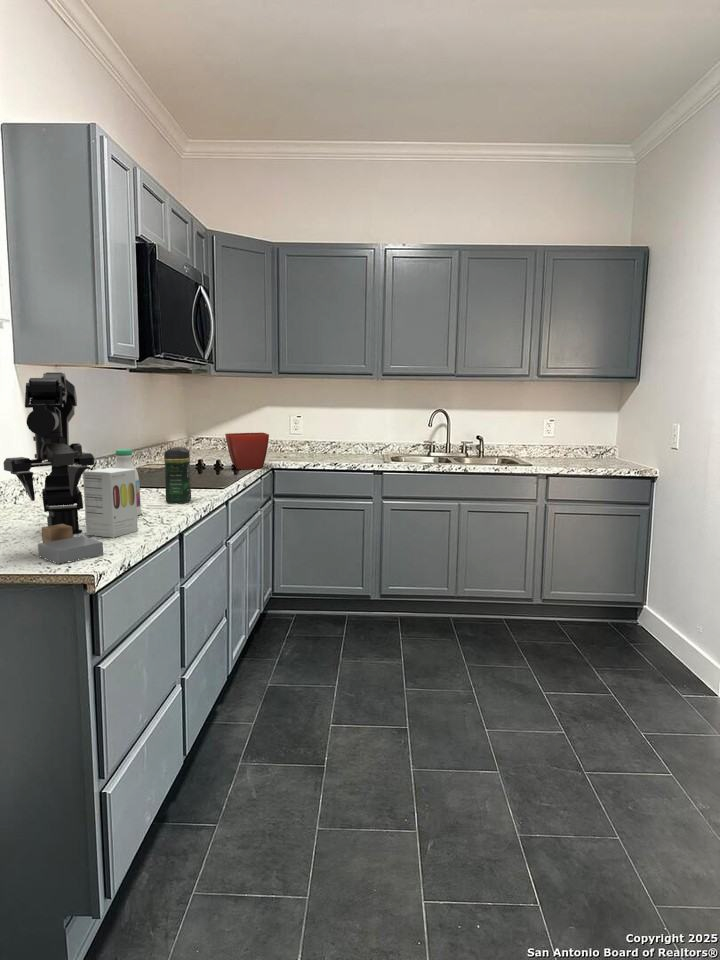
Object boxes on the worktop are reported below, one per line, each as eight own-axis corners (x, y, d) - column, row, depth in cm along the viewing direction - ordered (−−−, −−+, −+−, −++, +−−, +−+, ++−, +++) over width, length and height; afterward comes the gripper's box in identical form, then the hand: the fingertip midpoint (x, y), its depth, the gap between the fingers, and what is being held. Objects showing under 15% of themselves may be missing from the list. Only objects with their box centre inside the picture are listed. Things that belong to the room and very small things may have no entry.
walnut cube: (63, 543, 154) (62, 523, 153) (73, 546, 150) (72, 526, 150) (43, 547, 150) (41, 527, 149) (52, 550, 147) (50, 530, 146)
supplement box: (113, 538, 159) (109, 472, 156) (85, 535, 162) (80, 471, 160) (139, 530, 167) (135, 468, 165) (112, 528, 171) (108, 466, 169)
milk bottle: (110, 515, 189) (106, 449, 186) (135, 512, 194) (132, 447, 191) (119, 519, 183) (115, 451, 180) (145, 515, 188) (141, 449, 185)
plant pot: (226, 466, 314) (225, 433, 311) (264, 465, 319) (263, 432, 317) (230, 471, 296) (228, 435, 293) (270, 469, 301) (269, 434, 299)
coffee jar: (187, 504, 208) (185, 448, 205) (163, 504, 207) (160, 448, 205) (194, 499, 217) (191, 445, 215) (171, 499, 217) (168, 446, 214)
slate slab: (82, 548, 149) (81, 535, 148) (103, 555, 142) (102, 542, 142) (38, 556, 141) (37, 543, 141) (59, 564, 135) (58, 550, 134)
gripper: (19, 436, 134) (25, 507, 136) (103, 431, 147) (107, 496, 150) (0, 433, 141) (5, 501, 143) (82, 429, 155) (86, 491, 157)
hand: (53, 498), depth 148 cm, fingers open, 9 cm apart
